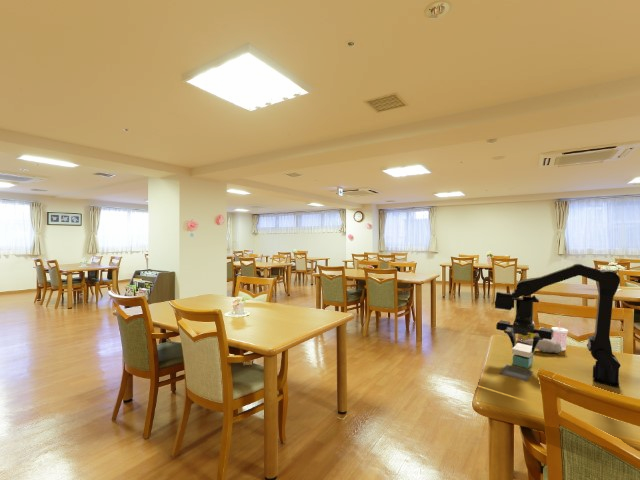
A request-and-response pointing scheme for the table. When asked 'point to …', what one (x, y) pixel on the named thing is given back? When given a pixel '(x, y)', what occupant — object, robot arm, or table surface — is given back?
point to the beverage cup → (560, 335)
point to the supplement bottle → (527, 337)
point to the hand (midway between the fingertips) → (523, 350)
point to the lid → (522, 350)
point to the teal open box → (522, 361)
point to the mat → (516, 372)
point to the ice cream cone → (546, 345)
